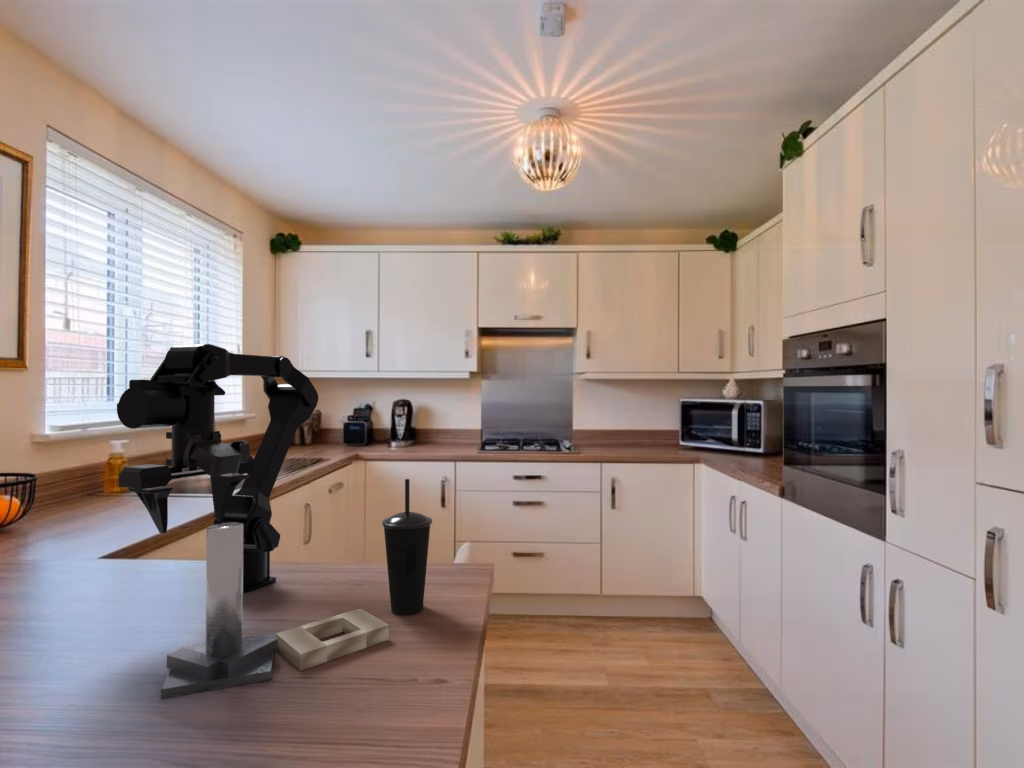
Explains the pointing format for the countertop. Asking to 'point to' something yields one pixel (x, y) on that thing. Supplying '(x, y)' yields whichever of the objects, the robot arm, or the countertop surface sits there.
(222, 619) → the axle
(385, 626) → the beige rectangular frame
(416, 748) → the countertop surface
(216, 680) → the v block
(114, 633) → the countertop surface
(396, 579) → the drinking cup
